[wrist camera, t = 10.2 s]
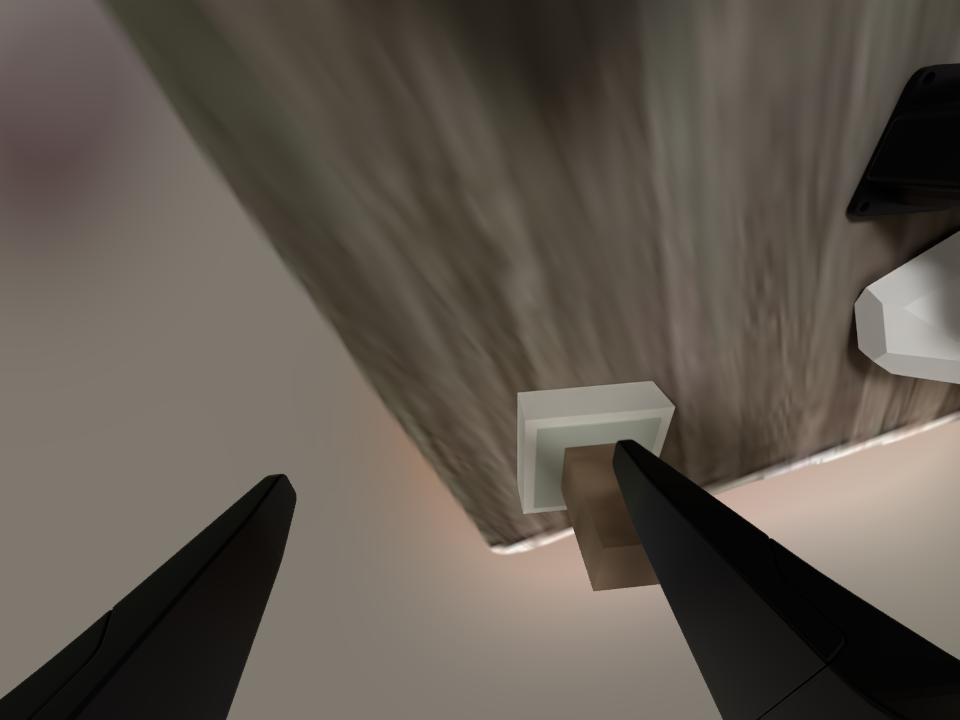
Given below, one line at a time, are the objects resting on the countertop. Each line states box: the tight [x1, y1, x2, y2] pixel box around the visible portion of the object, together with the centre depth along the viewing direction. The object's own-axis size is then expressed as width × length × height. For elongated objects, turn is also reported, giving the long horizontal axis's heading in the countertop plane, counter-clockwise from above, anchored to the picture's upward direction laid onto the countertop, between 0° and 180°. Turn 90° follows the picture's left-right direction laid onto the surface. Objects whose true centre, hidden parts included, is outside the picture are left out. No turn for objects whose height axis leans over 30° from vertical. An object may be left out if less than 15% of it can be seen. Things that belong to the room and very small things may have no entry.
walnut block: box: [561, 443, 660, 591], centre depth 22 cm, size 4×4×7 cm
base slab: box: [517, 381, 675, 514], centre depth 26 cm, size 10×10×3 cm
